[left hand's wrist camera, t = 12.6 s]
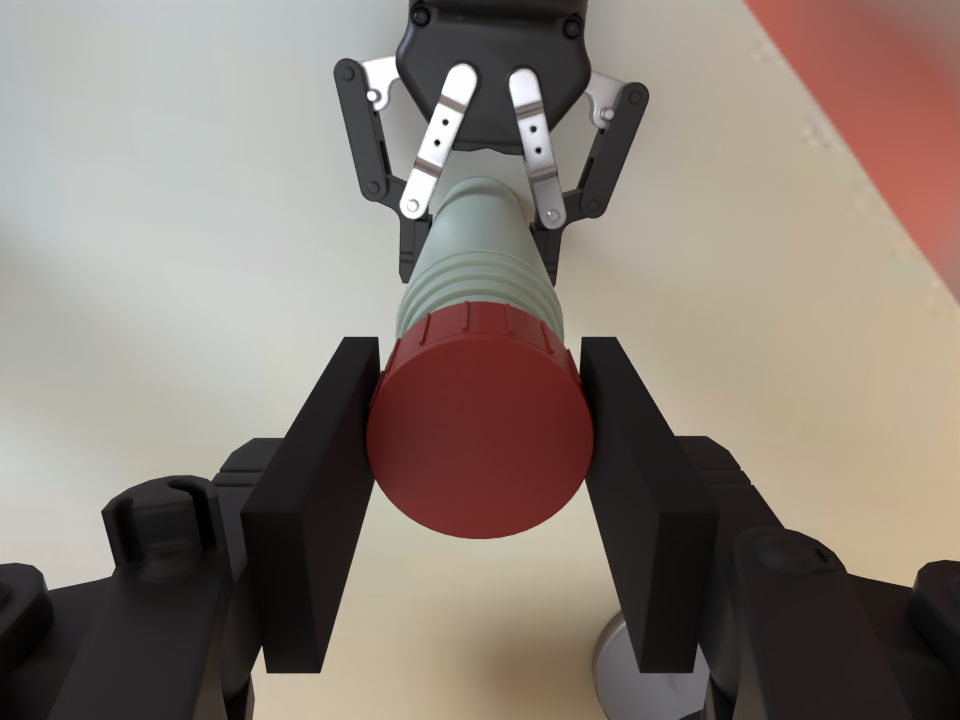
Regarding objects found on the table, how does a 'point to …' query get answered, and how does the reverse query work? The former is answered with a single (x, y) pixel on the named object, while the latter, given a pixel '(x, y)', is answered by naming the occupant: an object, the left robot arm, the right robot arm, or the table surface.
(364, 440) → the left robot arm
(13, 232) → the table surface
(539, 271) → the bottle
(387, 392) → the cap
